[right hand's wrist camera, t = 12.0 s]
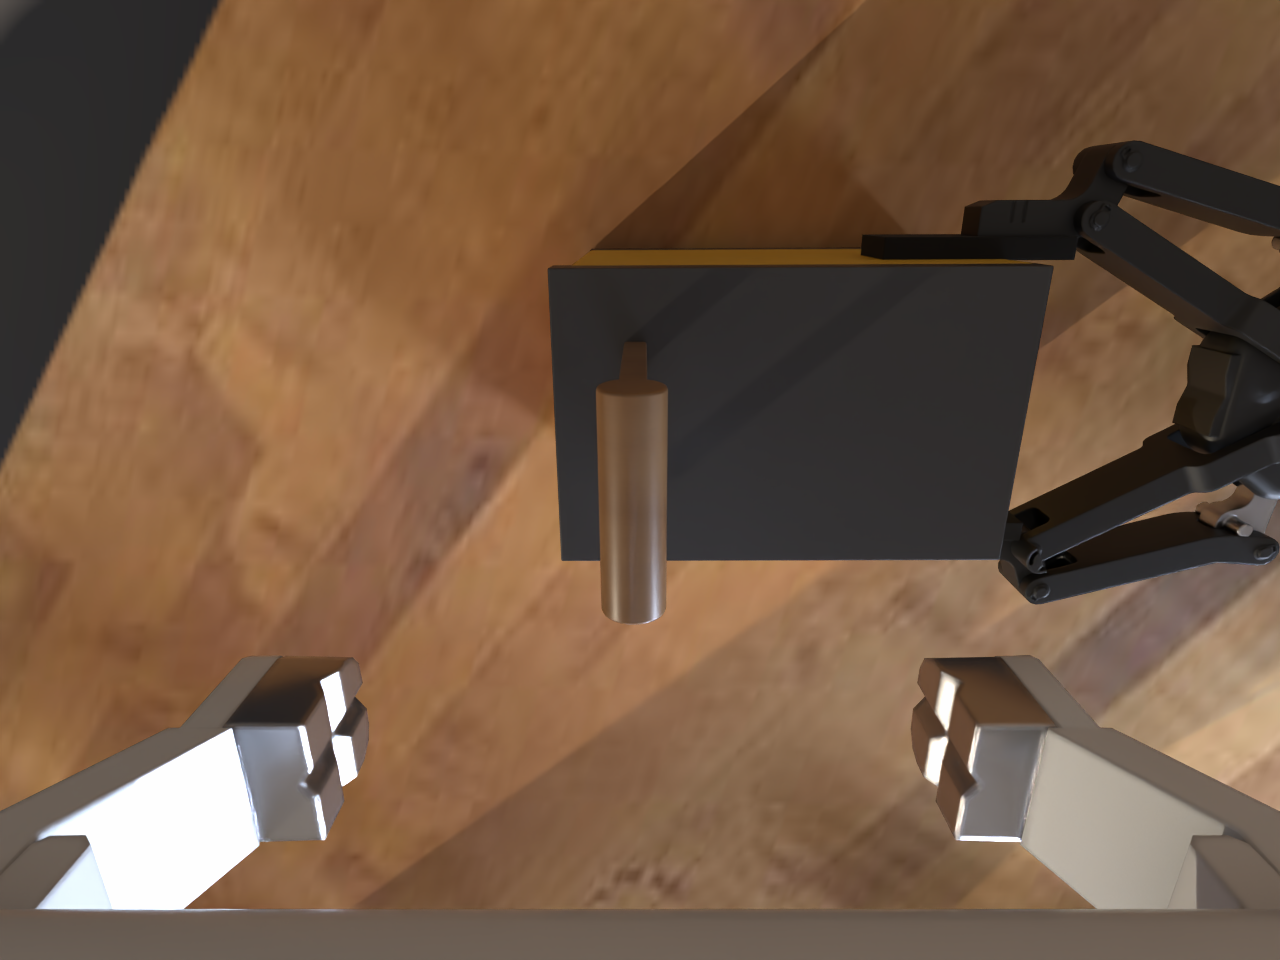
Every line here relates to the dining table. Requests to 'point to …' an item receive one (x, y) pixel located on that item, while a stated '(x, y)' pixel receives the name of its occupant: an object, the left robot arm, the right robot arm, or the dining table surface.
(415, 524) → the dining table surface
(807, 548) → the lid
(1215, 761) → the dining table surface
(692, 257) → the chest
